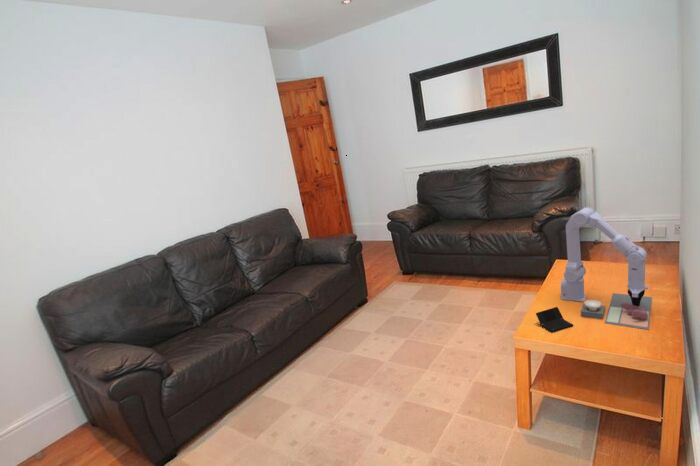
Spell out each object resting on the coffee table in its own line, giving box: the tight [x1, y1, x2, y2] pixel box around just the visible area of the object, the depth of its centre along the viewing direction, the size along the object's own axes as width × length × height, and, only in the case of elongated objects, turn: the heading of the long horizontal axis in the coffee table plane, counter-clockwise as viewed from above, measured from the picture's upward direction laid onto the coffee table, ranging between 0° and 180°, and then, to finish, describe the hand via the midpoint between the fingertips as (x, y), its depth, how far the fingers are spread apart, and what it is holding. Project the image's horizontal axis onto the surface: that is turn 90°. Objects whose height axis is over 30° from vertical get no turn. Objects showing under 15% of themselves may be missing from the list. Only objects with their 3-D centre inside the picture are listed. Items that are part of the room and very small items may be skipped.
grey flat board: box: [604, 292, 653, 331], centre depth 164 cm, size 14×30×1 cm, turn 141°
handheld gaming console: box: [535, 306, 574, 334], centre depth 163 cm, size 12×7×10 cm
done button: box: [584, 299, 602, 311], centre depth 165 cm, size 6×6×4 cm
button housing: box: [580, 302, 606, 320], centre depth 166 cm, size 8×8×2 cm
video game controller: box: [621, 302, 648, 319], centre depth 158 cm, size 10×5×7 cm
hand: (636, 305), depth 163 cm, fingers closed
